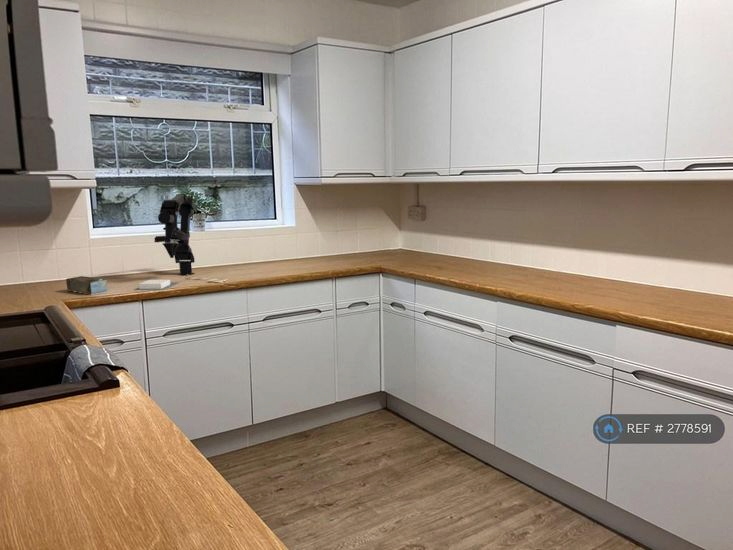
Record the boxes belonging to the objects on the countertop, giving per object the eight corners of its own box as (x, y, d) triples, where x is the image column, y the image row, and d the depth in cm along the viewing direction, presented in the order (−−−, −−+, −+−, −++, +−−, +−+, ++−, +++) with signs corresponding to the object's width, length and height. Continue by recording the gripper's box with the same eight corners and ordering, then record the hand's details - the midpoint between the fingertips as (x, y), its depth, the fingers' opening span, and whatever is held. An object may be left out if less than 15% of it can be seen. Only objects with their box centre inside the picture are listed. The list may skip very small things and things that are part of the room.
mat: (151, 283, 280) (151, 282, 280) (180, 283, 279) (180, 282, 279) (133, 291, 260) (133, 290, 260) (164, 290, 259) (164, 289, 259)
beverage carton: (91, 296, 252) (89, 280, 251) (66, 292, 262) (64, 277, 261) (108, 292, 258) (106, 278, 257) (83, 289, 269) (82, 275, 268)
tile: (148, 279, 272) (138, 283, 261) (170, 279, 272) (160, 283, 261) (149, 285, 272) (139, 289, 261) (170, 285, 272) (161, 289, 261)
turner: (182, 281, 285) (182, 278, 285) (191, 278, 292) (191, 276, 291) (219, 282, 277) (219, 280, 277) (228, 280, 284) (227, 278, 284)
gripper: (173, 223, 273) (174, 256, 273) (196, 226, 291) (197, 257, 291) (153, 224, 277) (154, 257, 277) (177, 227, 294) (178, 258, 294)
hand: (172, 257), depth 284 cm, fingers closed
